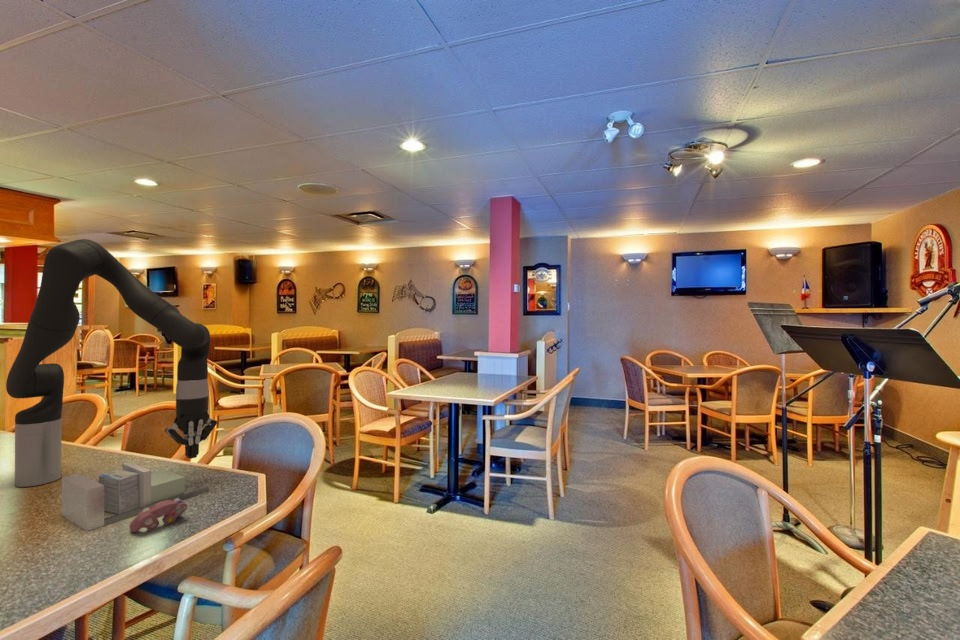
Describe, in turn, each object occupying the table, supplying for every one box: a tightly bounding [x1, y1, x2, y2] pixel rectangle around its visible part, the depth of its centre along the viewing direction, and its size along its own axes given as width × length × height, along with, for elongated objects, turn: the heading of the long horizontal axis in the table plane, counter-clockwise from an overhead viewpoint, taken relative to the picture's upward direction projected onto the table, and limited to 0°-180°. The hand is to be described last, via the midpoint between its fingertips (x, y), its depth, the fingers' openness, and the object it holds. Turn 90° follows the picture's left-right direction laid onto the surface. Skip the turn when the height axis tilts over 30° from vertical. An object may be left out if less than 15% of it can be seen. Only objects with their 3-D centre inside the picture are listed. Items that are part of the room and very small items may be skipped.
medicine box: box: [98, 469, 139, 515], centre depth 104 cm, size 8×4×9 cm, turn 70°
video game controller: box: [129, 498, 188, 533], centre depth 96 cm, size 10×5×7 cm, turn 149°
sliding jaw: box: [122, 461, 186, 507], centre depth 111 cm, size 12×9×9 cm
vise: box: [61, 472, 210, 532], centre depth 108 cm, size 15×26×9 cm, turn 150°
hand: (191, 457), depth 119 cm, fingers closed
